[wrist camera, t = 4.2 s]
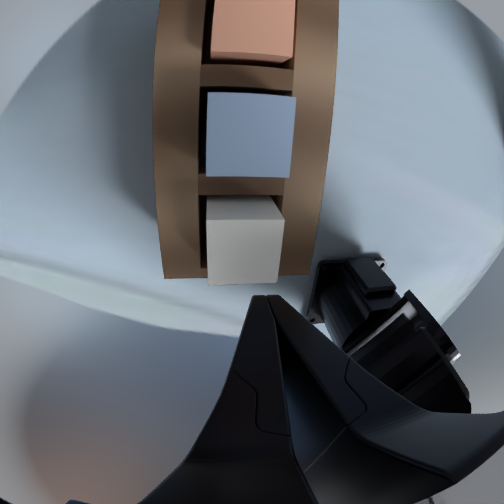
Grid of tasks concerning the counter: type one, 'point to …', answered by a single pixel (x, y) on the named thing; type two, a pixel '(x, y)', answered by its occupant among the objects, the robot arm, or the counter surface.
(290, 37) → the key terracotta
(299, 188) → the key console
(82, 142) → the counter surface
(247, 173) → the key blue
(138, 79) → the counter surface
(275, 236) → the key cream
